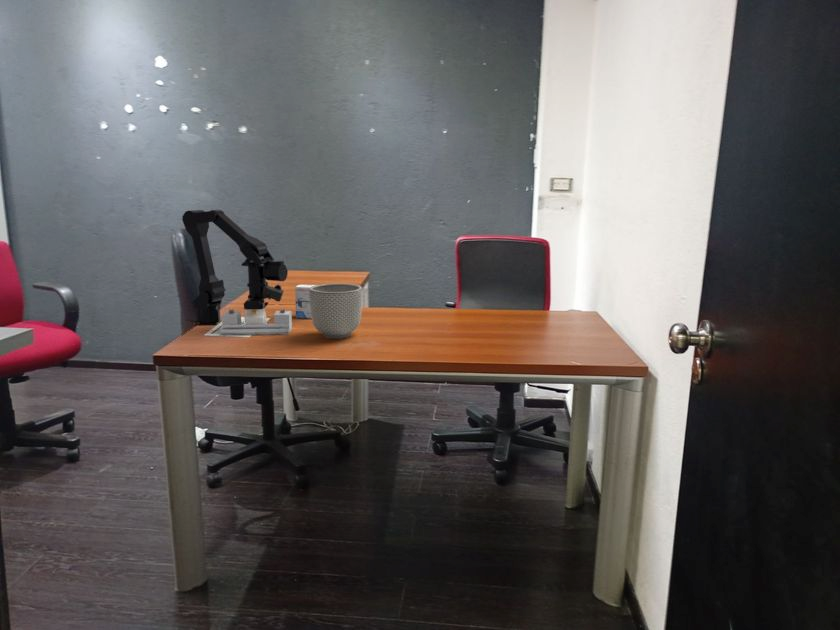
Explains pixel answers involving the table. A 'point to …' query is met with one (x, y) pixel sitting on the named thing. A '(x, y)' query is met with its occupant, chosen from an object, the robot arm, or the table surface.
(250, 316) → the module
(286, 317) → the block
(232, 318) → the block
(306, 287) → the ink box
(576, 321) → the table surface
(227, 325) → the rail
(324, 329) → the planter
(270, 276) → the robot arm
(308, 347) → the table surface
